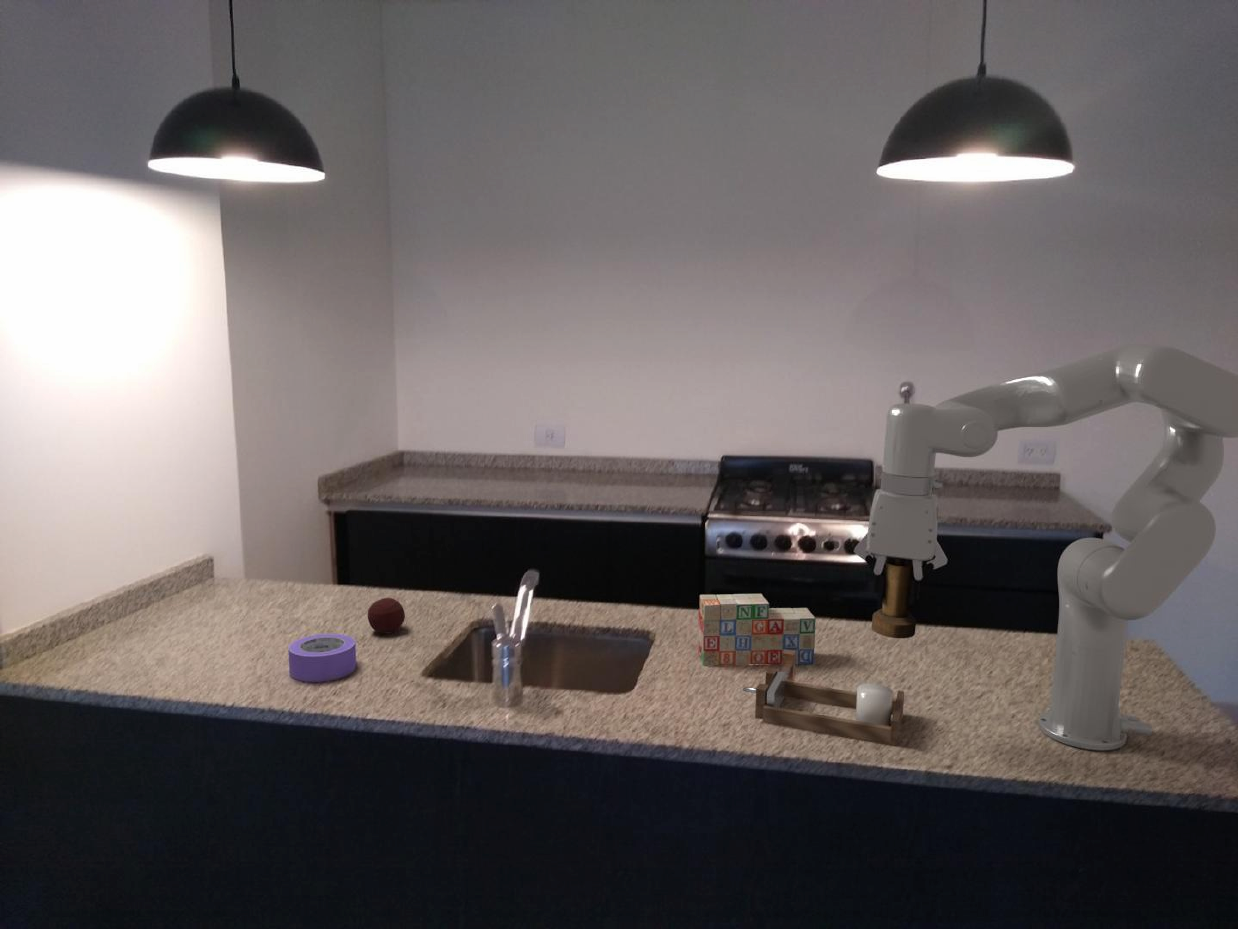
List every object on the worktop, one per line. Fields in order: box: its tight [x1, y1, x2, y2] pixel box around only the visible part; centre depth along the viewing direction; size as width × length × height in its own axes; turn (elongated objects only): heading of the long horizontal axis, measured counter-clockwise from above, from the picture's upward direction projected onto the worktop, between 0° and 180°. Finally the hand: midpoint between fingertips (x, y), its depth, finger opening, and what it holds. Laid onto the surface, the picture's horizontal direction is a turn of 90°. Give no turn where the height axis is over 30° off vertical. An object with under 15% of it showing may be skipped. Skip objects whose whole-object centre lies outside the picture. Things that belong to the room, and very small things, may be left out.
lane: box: [754, 667, 905, 747], centre depth 148 cm, size 22×12×5 cm, turn 68°
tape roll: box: [288, 633, 357, 683], centre depth 166 cm, size 12×12×5 cm
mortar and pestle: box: [871, 558, 917, 639], centre depth 140 cm, size 7×6×18 cm
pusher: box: [742, 649, 796, 708], centre depth 155 cm, size 7×16×6 cm, turn 158°
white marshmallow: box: [855, 682, 894, 727], centre depth 145 cm, size 6×6×6 cm
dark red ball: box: [367, 597, 406, 634], centre depth 185 cm, size 7×8×7 cm
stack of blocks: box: [698, 593, 816, 667], centre depth 172 cm, size 21×6×12 cm, turn 93°
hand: (895, 598), depth 140 cm, fingers closed on mortar and pestle, 3 cm apart
